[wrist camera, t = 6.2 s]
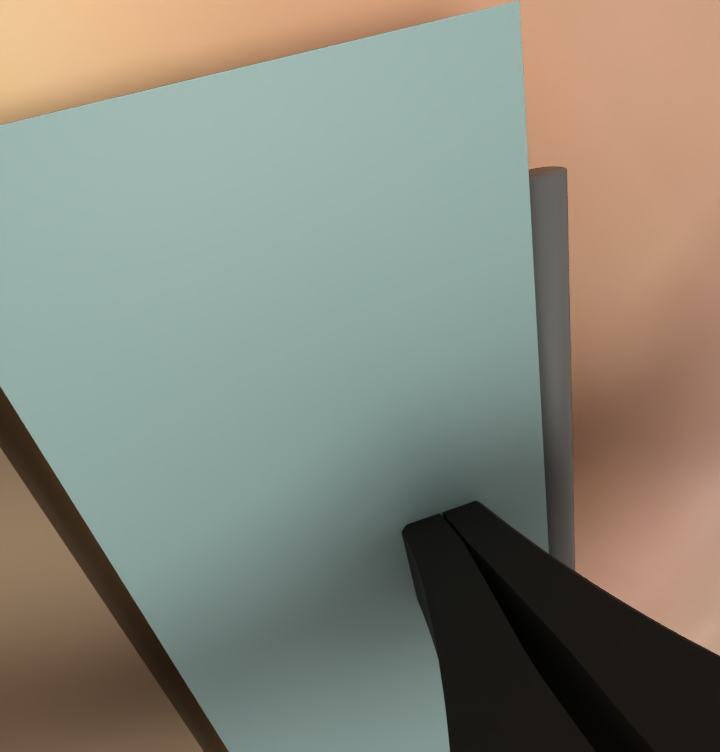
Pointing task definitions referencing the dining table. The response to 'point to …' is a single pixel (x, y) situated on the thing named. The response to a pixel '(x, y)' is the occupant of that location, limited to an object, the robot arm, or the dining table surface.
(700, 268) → the dining table surface
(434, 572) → the robot arm
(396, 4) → the dining table surface
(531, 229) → the panel
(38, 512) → the cart bed
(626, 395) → the dining table surface
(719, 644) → the dining table surface
